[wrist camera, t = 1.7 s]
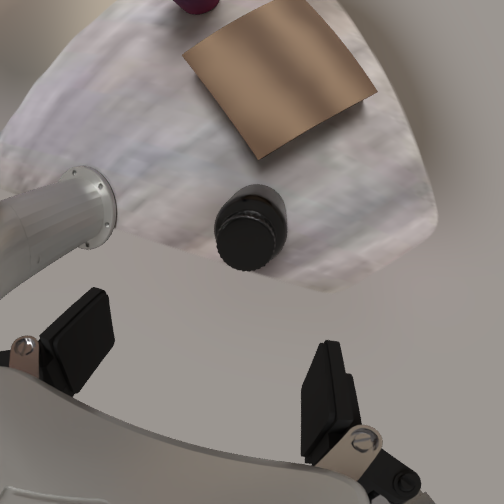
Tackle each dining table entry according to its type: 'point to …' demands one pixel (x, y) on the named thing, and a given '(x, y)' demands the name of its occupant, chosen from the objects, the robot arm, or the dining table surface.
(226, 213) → the supplement bottle
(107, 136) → the dining table surface
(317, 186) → the dining table surface
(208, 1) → the cup
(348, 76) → the walnut block
